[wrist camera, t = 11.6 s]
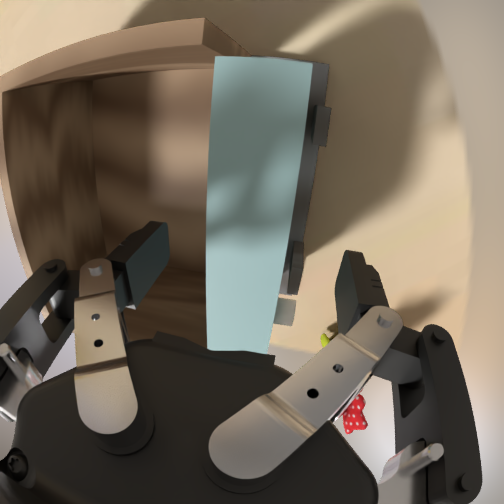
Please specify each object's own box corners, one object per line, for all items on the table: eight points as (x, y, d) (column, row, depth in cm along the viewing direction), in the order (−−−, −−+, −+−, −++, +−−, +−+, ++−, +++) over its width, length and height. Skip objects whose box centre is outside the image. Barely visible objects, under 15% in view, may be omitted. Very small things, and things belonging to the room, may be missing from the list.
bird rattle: (373, 343, 32) (380, 314, 25) (379, 429, 25) (390, 428, 18) (325, 349, 33) (317, 323, 27) (326, 435, 27) (319, 436, 20)
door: (263, 81, 17) (215, 56, 7) (323, 89, 17) (351, 71, 7) (245, 269, 26) (208, 380, 15) (292, 277, 25) (279, 393, 15)
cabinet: (92, 70, 19) (-6, 79, 9) (329, 65, 17) (358, 30, 7) (106, 256, 29) (45, 320, 19) (293, 290, 27) (282, 390, 17)
